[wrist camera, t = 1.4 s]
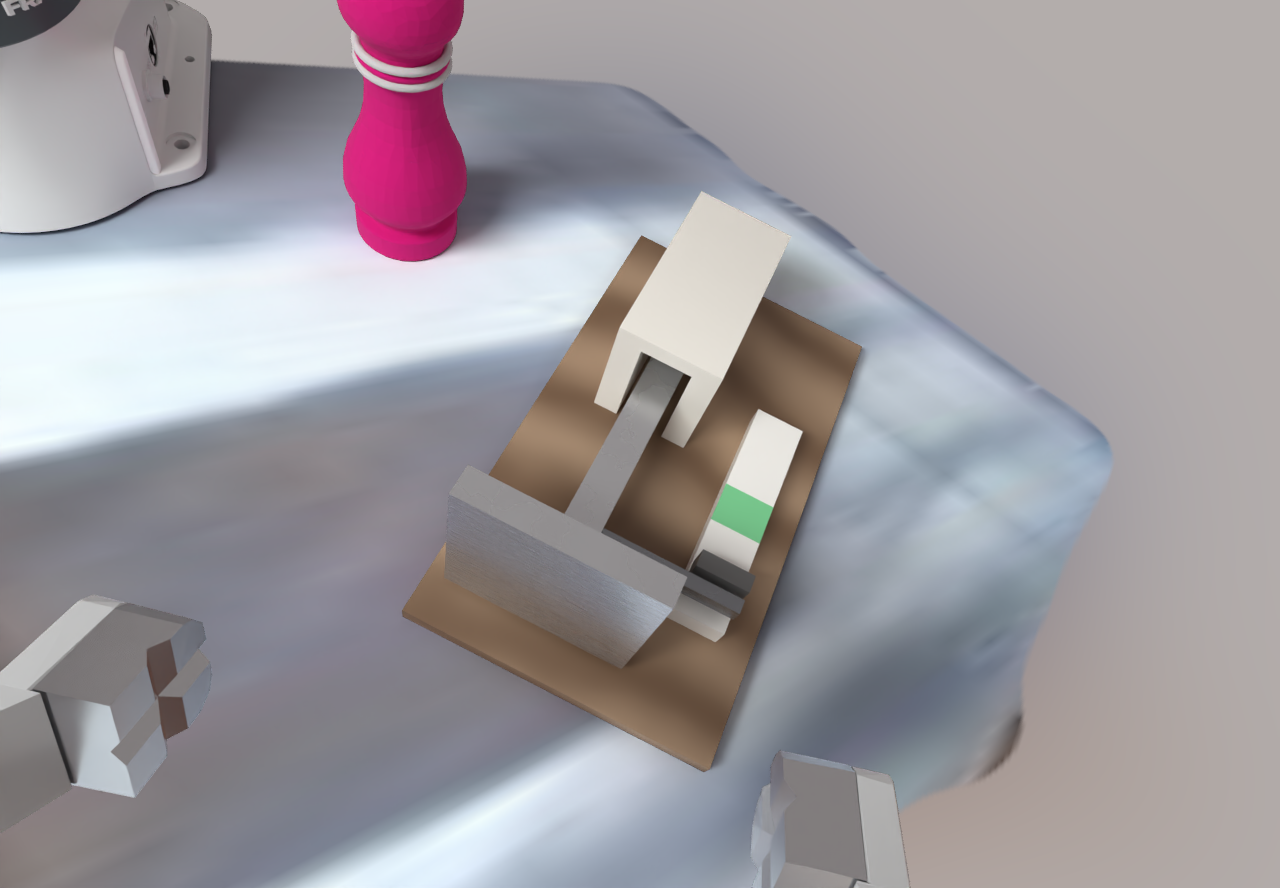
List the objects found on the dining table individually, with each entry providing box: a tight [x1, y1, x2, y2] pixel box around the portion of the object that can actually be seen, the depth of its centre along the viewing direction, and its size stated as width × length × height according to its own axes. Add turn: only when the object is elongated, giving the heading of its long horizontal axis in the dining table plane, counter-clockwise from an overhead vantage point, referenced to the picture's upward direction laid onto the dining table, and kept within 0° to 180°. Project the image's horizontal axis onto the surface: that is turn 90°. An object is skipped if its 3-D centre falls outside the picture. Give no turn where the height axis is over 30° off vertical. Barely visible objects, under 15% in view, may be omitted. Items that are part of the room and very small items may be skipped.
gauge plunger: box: [444, 357, 745, 669], centre depth 41 cm, size 20×14×10 cm
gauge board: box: [402, 235, 862, 772], centre depth 48 cm, size 30×17×1 cm, turn 156°
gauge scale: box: [667, 409, 803, 642], centre depth 46 cm, size 14×3×2 cm, turn 156°
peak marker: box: [689, 549, 756, 599], centre depth 41 cm, size 1×3×2 cm, turn 66°
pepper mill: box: [337, 0, 467, 261], centre depth 44 cm, size 7×7×20 cm
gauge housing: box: [594, 191, 791, 448], centre depth 48 cm, size 12×6×8 cm, turn 156°
